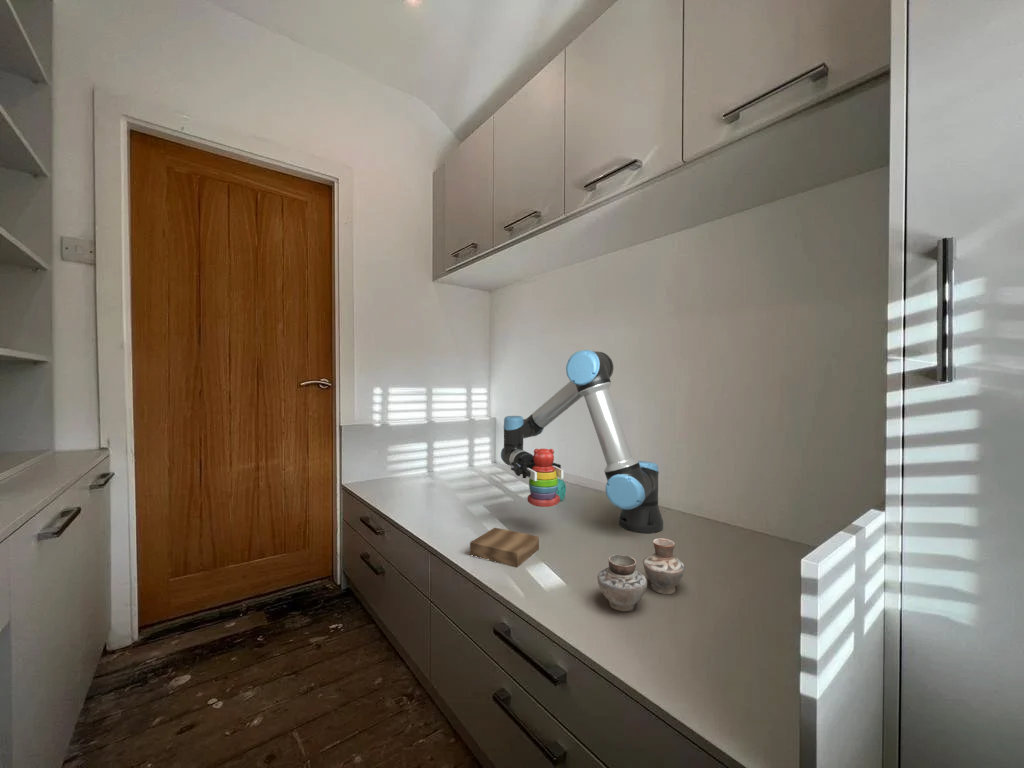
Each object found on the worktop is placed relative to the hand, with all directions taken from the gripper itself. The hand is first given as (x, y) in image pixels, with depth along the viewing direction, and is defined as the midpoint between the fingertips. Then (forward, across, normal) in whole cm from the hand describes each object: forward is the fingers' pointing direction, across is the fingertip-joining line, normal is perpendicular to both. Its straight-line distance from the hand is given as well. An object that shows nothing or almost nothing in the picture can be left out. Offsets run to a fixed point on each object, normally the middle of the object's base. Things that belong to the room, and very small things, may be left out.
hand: (549, 475), depth 134 cm
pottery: (+36, -8, -22) cm, 43 cm away
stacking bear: (-5, 0, -10) cm, 11 cm away
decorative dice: (-44, -23, -22) cm, 55 cm away
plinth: (+1, +15, -22) cm, 27 cm away
